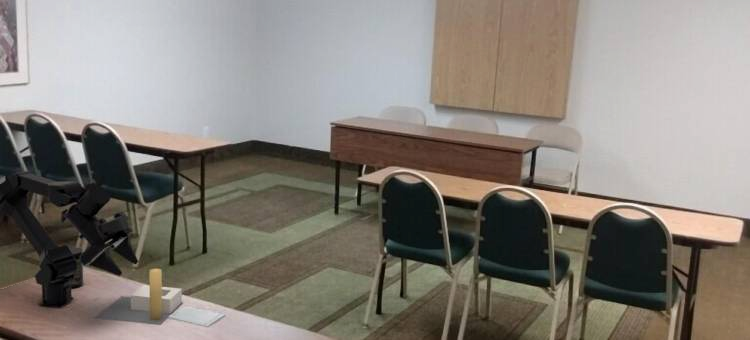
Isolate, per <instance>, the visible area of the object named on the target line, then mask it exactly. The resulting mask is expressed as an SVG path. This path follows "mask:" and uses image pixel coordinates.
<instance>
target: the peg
mask: <svg viewBox="0 0 750 340" xmlns="http://www.w3.org/2000/svg"><path fill="white" fill-rule="evenodd" d="M162 270H163V269H161V268H152V269H149V273H148V274H149V276H148V277H149V286H150V319H151V320H159V319H161V318H162V287H163V286H162V285H163V283H162V281H163V280H162V277H163V276H162V273H163V271H162Z"/></svg>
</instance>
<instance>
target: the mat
mask: <svg viewBox="0 0 750 340" xmlns="http://www.w3.org/2000/svg"><path fill="white" fill-rule="evenodd" d="M183 304H184V302H182V303H181V304H180V305H179V306H178V307H177V308H175V309H174V310H173V311H172V312H171V313H162V318H161V319H159V320H151V319H150V311H141V310H132V309H131V296H123V295H122V296H120V297H119V298H118V299H116V300H115V301H114V302H113V303H111V304H110V305H109V306H107V307H106V308H104V309H103V310H102V311H101V312H100V313H98V314H97V315H96V316H94V319H100V320H109V321H110V320H111V321H119V322H120V321H121V322H129V323H135V324H136V323H137V324H147V325H156V326H157V325H158V326H161V325H162V324H163V323H164V322H166V320H167V319H169V318H168V317H169V316H170V315H171V314H173V313H175V312H176V311H178V310H179V309H180V307H181V306H182V305H183Z"/></svg>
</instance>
